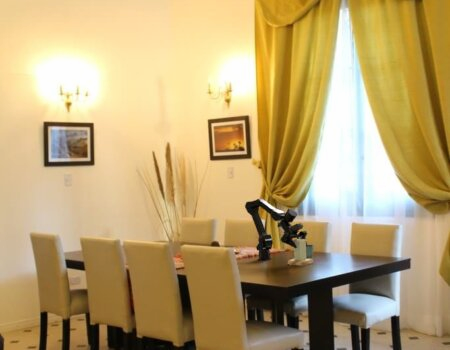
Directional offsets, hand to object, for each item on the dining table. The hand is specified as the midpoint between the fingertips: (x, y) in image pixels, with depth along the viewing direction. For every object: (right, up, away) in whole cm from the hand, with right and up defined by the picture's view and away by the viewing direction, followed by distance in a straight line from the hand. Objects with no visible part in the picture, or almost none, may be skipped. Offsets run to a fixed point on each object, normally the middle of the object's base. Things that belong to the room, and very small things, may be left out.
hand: (301, 247), depth 374 cm
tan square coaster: (0, -11, +1) cm, 11 cm away
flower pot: (+5, -10, +16) cm, 19 cm away
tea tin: (-1, -8, +1) cm, 8 cm away
